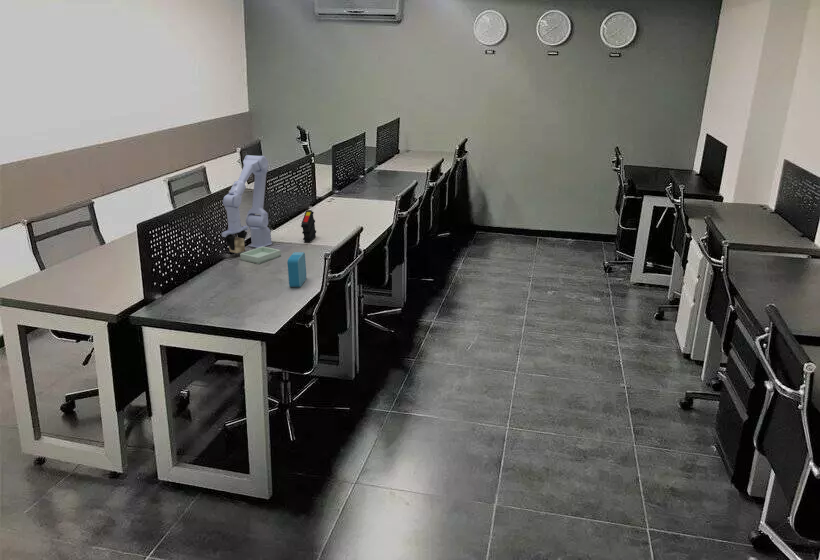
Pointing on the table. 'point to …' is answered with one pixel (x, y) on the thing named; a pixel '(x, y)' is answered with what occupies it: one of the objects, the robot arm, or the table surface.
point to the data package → (296, 269)
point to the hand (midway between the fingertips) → (237, 248)
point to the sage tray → (260, 255)
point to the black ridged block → (308, 226)
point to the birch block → (238, 245)
